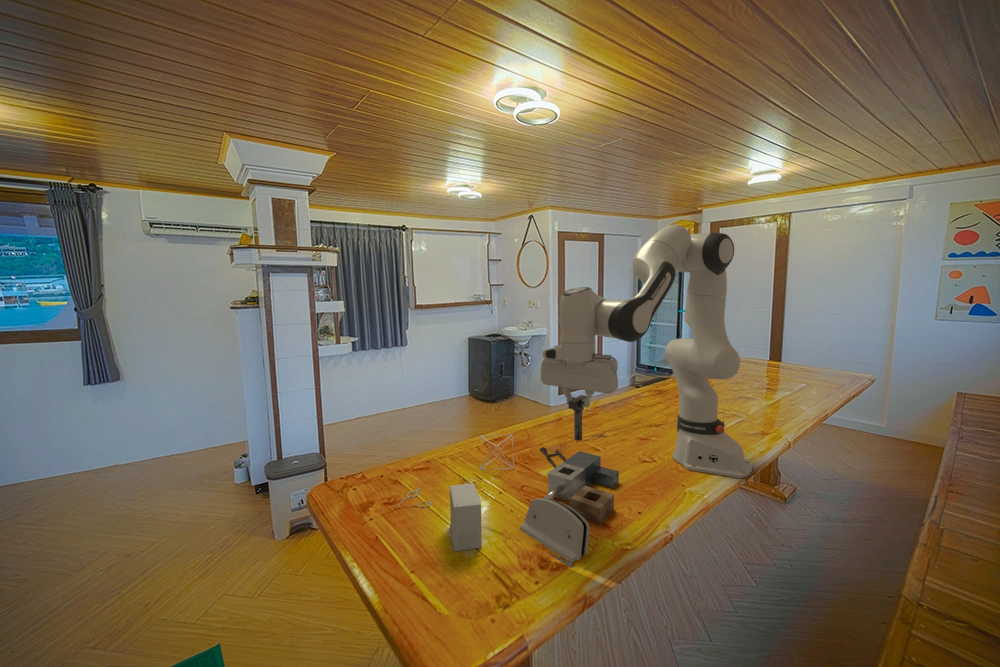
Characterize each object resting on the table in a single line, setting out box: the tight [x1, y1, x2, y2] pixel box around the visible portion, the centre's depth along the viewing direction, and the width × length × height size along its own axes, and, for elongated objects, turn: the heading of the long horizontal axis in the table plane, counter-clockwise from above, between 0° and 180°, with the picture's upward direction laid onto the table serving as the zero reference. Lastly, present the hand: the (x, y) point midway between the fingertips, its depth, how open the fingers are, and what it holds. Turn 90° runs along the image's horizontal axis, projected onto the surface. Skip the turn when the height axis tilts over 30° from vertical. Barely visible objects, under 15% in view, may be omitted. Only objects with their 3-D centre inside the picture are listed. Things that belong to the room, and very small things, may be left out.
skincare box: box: [449, 482, 483, 552], centre depth 96 cm, size 10×6×10 cm, turn 12°
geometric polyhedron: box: [479, 434, 515, 471], centre depth 133 cm, size 12×11×9 cm
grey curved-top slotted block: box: [519, 498, 591, 569], centre depth 93 cm, size 17×5×10 cm, turn 40°
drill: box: [543, 450, 620, 502], centre depth 112 cm, size 25×13×7 cm, turn 142°
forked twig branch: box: [539, 446, 567, 469], centre depth 135 cm, size 24×10×2 cm, turn 13°
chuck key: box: [567, 394, 587, 442], centre depth 106 cm, size 3×7×11 cm, turn 143°
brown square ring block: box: [569, 486, 615, 525], centre depth 103 cm, size 8×8×5 cm
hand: (578, 405), depth 106 cm, fingers closed on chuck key, 3 cm apart
